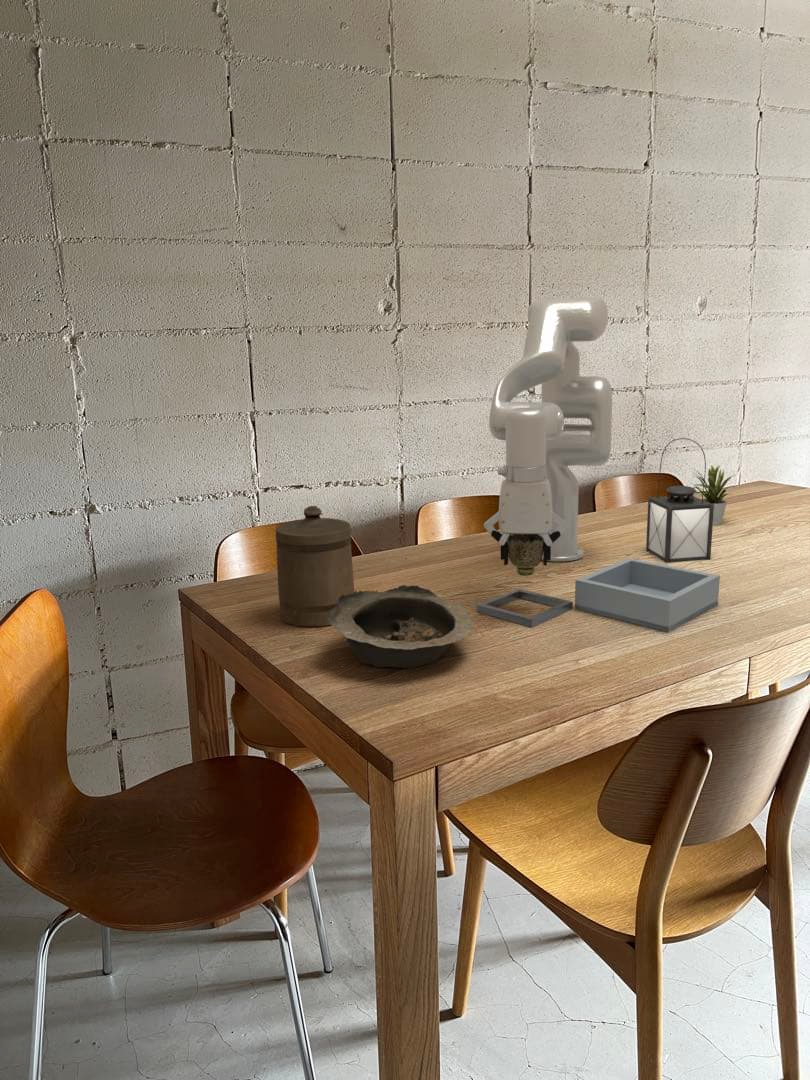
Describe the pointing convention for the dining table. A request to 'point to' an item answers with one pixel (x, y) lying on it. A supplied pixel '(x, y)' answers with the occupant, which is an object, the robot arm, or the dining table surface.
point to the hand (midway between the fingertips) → (525, 562)
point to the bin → (647, 593)
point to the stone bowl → (399, 625)
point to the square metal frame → (491, 610)
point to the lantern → (679, 524)
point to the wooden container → (313, 567)
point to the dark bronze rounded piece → (525, 552)
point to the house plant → (714, 493)
